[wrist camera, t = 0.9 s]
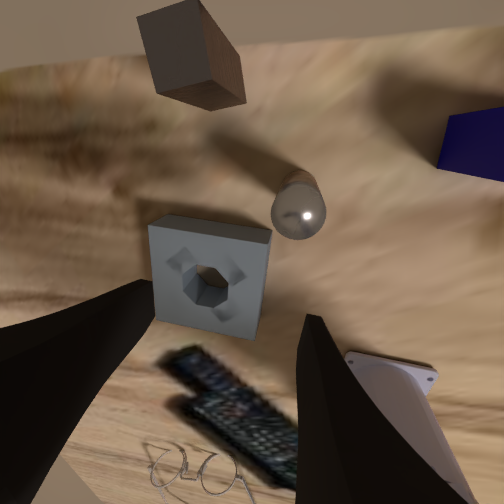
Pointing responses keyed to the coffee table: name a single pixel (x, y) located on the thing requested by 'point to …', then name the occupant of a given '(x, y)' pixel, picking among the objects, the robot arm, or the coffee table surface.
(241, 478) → the eyeglasses
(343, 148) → the coffee table surface
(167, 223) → the socket block
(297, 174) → the round bit
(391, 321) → the coffee table surface
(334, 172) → the coffee table surface
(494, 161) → the blue arched block
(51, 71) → the coffee table surface
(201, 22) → the square bit
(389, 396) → the robot arm
